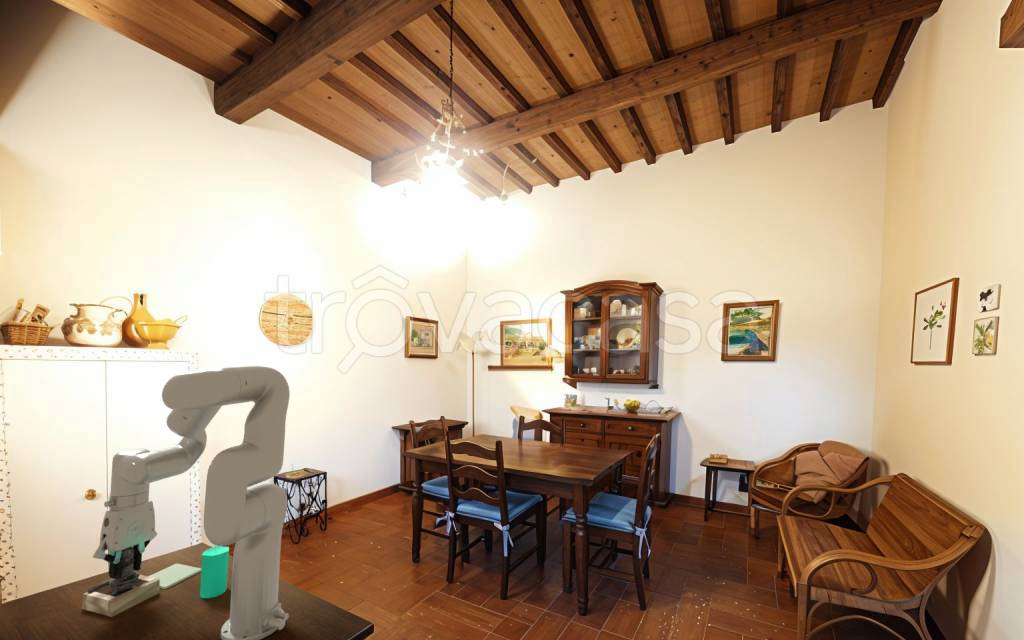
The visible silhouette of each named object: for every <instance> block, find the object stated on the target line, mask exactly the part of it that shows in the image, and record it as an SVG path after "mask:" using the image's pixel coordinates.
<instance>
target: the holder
mask: <svg viewBox="0 0 1024 640" xmlns="http://www.w3.org/2000/svg"><path fill="white" fill-rule="evenodd" d="M148 576H149V575H143V574H140V576H139V577H138V581H137V583H136V584H135V585H134V586H135V587H136V588H134V589H132V590H130V591H128V592H125V593H123V594H121V595H119V596H117V597H114V596H110V595H111V594H112V593H113V592H114V590H112V588H111V585H110V584H109V581H110V580H111V579H113V578H109V579H107V580H105V581H103V582H100V583H99V584H97V585H93V586H91V587H89V588H87V591H86V592H85V593H83V594H82V602H81V603H82V605H81V609H82V610H85V611H89V612H93V613H95V614H99V615H103V616H106V617H110V618H112V617H114V616H117V615H118V614H121V613H123V612H124V611H126V610H129V609H131V608H132V607H135V606H136V605H138V604H140V603H142V602H144V601H147V600H148V599H150V598H152V597H154V596H156V595H158V594H160V588H159V586H160V579H157V578H153V577H148Z"/></svg>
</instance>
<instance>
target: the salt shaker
mask: <svg viewBox="0 0 1024 640" xmlns="http://www.w3.org/2000/svg"><path fill="white" fill-rule="evenodd" d="M133 557H134V548H133V547H130V548H127V549H124V550H122V553H121V557H120V562H122V576H121V578H120V579H112V578H110V579H111V580H110V579H109V580H110V581H109V584H110V585H111V588H112V590H114V592H113V593H112V594H111V595H110V596H114V597H117V596H119V595H121V594H123V593H125V592H128V591H130V590H132V589H134V588H136V587H135V586H134V585H135V584H136V583H137V581H138V577H139V576H140V575H141V572H138V571H135V570H133V563H134V562H135V559H133Z"/></svg>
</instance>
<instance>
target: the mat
mask: <svg viewBox="0 0 1024 640" xmlns="http://www.w3.org/2000/svg"><path fill="white" fill-rule="evenodd" d="M201 569H202V567H195V566H190V565H186V564H181V563H174V564H172V565H170V566H168V567H166V568H163V569H161V570H160V571H159V570H158V571H157V572H155V573H153V574H150V575H147V576H148V577H153V578H157V579H160V586H159V589H162V590H166V589H169V588H171V587H173V586H175V585H177V584H179V583H181V582H182V581H183V582H184V581H185V580H186V579H190V578H191V577H192V576H194V575H197V574H199V573H201Z"/></svg>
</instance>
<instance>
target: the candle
mask: <svg viewBox="0 0 1024 640" xmlns="http://www.w3.org/2000/svg"><path fill="white" fill-rule="evenodd" d="M229 554H230V547H229V546H217V545H215V546H212V547H210V548H209V549H206V550H205V551H204V552H202V554H201V555H202V556H201V572H200V584H199V585H200V590H199V597H200V598H202V599H211V598H215V597H218V596H220V595H221V596H222V595H223V594H225V592H226V591H227V589H228V588H227V587H228V575H229V574H228V573H229V559H230V558H229V557H230V555H229Z"/></svg>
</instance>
